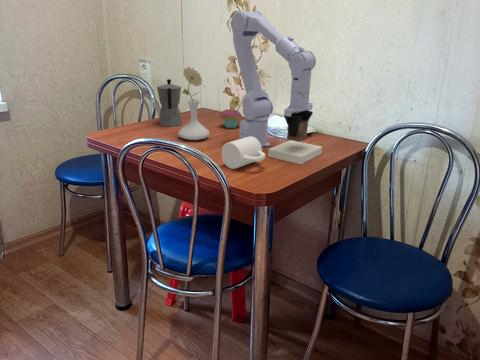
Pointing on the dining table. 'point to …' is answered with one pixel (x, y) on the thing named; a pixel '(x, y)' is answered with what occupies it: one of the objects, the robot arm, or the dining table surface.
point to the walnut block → (300, 132)
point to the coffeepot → (169, 104)
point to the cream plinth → (295, 152)
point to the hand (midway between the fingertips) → (296, 134)
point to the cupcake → (230, 117)
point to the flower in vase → (193, 110)
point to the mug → (242, 152)
